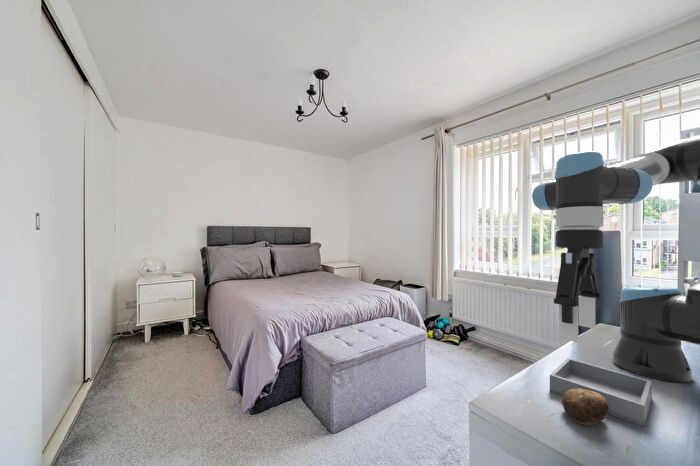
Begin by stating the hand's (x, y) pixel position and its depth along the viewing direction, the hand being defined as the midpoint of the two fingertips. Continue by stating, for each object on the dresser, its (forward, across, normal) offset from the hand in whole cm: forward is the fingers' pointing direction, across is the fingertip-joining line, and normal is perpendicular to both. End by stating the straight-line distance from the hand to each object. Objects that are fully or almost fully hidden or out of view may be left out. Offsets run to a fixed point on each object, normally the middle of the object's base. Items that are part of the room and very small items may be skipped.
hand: (578, 333), depth 56 cm
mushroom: (+17, 0, +1) cm, 17 cm away
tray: (+17, -14, +1) cm, 22 cm away
